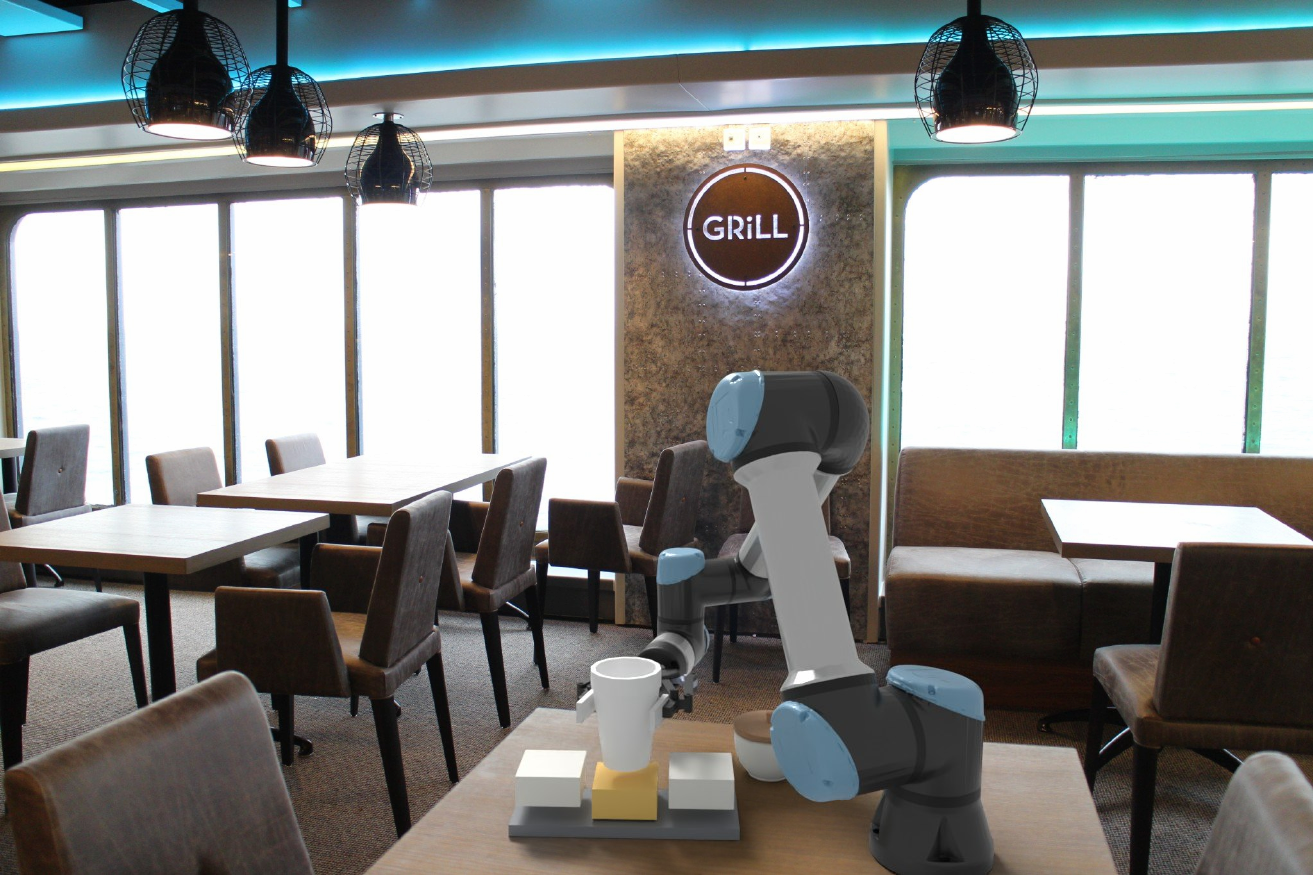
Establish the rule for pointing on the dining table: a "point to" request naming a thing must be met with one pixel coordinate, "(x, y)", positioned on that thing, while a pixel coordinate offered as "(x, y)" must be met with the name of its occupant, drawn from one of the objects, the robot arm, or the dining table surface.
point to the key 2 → (701, 781)
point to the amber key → (625, 793)
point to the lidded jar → (756, 745)
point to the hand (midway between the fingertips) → (615, 717)
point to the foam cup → (625, 709)
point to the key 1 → (551, 778)
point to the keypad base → (626, 822)
